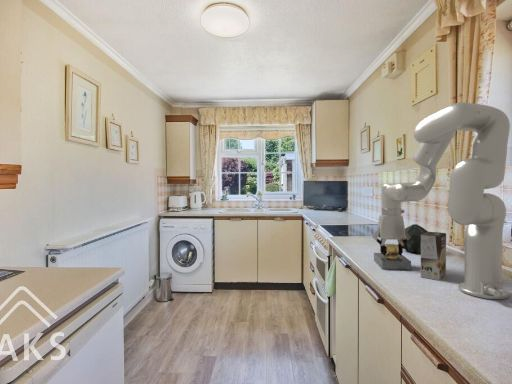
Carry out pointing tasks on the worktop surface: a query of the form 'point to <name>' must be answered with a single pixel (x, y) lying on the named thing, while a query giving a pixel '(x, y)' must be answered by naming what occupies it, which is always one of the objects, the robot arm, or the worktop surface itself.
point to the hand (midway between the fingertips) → (391, 254)
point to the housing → (392, 262)
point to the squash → (414, 238)
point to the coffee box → (433, 255)
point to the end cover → (391, 250)
